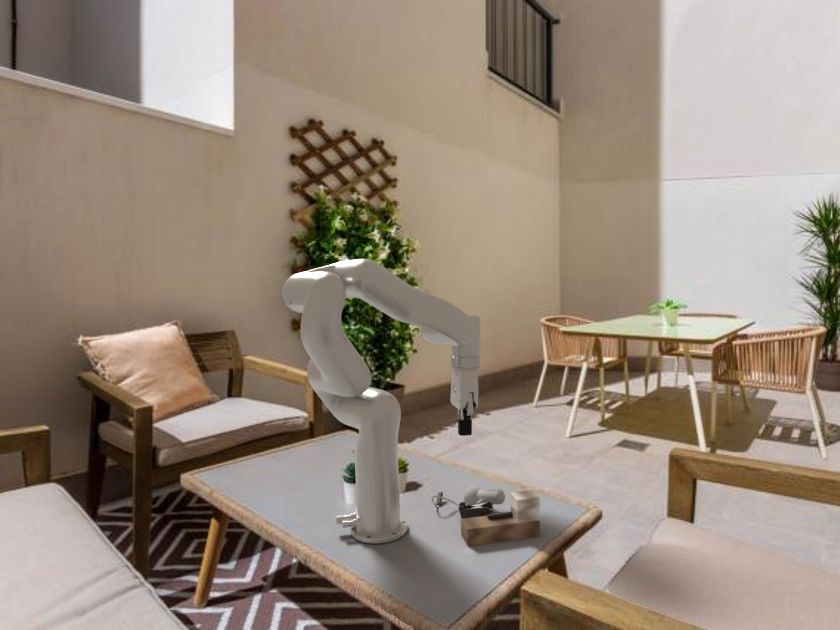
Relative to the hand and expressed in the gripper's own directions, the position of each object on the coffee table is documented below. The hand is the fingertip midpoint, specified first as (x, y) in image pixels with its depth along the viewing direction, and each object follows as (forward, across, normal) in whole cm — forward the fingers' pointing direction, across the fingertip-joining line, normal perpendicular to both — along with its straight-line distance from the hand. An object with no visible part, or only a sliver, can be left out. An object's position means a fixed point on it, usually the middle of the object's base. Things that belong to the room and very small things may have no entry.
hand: (464, 434), depth 132 cm
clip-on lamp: (+16, +9, -2) cm, 19 cm away
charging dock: (+16, +22, +2) cm, 28 cm away
